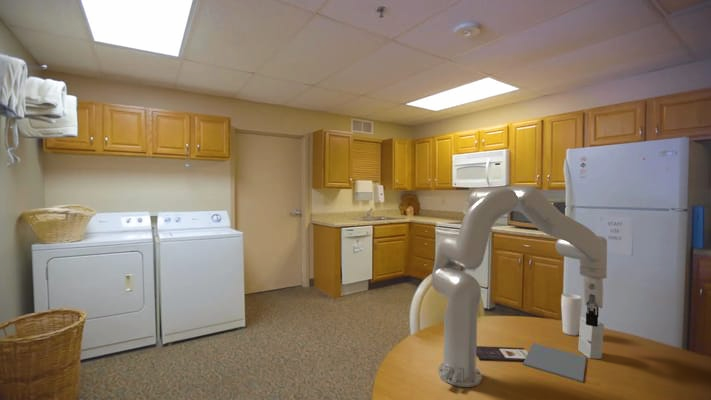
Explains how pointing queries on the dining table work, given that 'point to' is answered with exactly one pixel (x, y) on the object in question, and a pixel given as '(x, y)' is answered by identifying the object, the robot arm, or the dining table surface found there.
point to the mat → (556, 362)
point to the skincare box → (590, 339)
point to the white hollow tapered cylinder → (571, 313)
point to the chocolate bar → (501, 354)
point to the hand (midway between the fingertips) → (592, 320)
